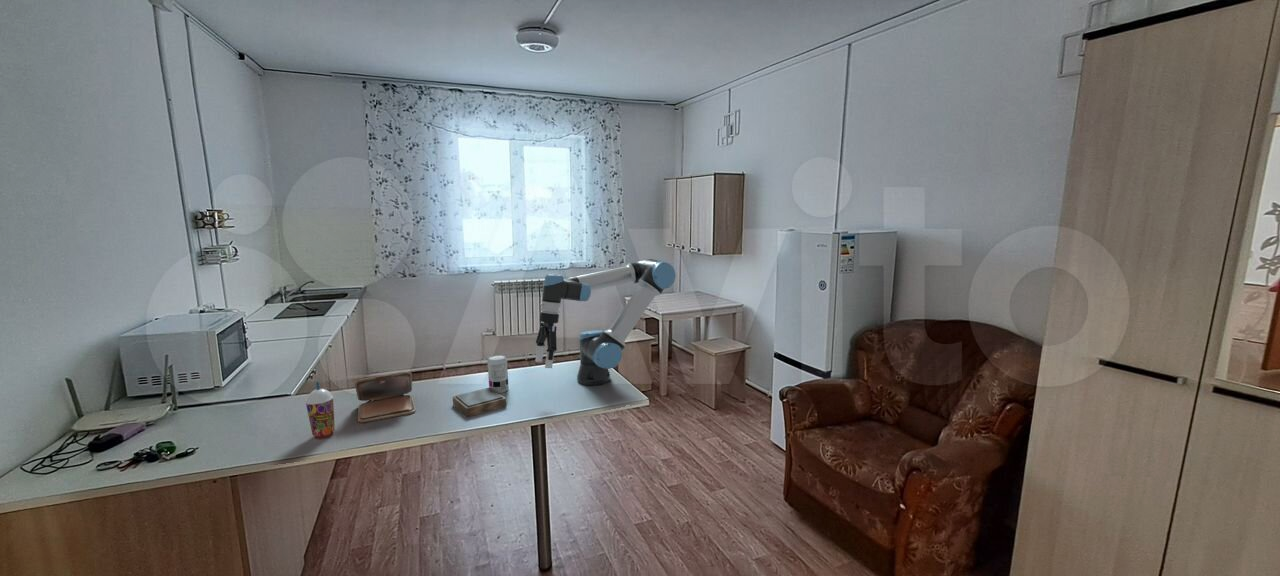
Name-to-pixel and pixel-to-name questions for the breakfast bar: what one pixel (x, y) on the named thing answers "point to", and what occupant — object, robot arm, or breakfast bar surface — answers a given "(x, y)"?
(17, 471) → the breakfast bar surface
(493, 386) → the supplement can
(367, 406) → the case
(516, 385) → the breakfast bar surface
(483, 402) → the podium
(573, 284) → the robot arm
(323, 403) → the smoothie
